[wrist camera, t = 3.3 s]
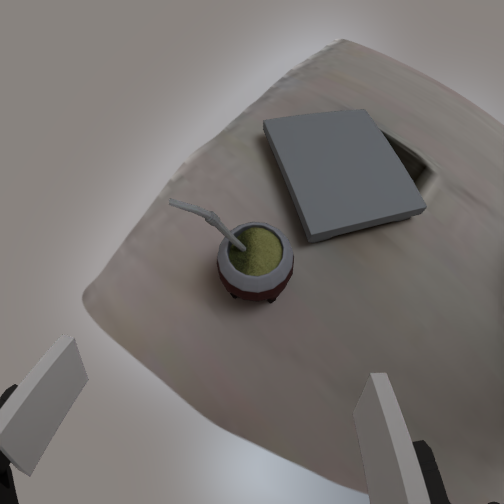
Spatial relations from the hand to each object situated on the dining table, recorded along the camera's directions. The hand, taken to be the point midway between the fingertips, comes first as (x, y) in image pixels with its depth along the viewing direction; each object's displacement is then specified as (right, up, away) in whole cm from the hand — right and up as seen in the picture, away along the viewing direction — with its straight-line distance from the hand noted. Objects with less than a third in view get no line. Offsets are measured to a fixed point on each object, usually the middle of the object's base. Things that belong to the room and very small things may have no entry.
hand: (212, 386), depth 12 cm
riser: (+13, +16, +26) cm, 34 cm away
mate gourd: (+2, +3, +21) cm, 21 cm away
